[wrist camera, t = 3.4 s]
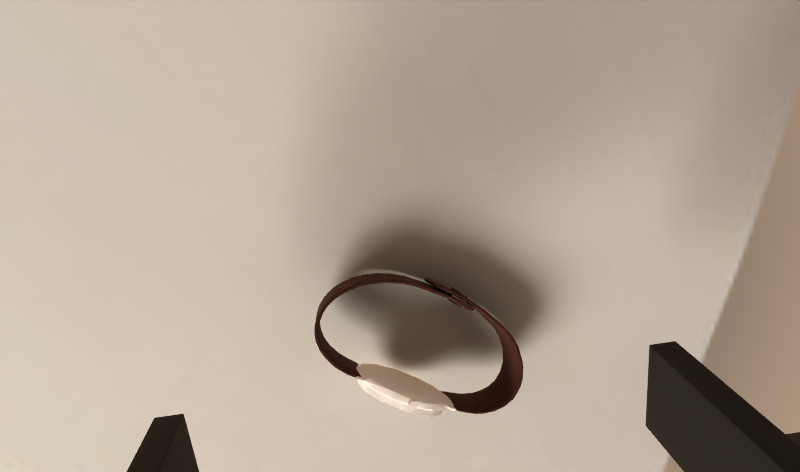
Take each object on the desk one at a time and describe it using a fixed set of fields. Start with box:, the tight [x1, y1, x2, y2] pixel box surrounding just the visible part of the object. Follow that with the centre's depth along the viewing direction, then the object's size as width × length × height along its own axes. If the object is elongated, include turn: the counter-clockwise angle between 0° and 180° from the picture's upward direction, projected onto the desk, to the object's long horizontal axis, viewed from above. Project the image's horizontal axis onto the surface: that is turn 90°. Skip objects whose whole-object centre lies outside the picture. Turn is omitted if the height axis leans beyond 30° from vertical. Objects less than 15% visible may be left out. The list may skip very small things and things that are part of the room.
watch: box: [315, 273, 523, 416], centre depth 19 cm, size 8×5×4 cm, turn 67°
